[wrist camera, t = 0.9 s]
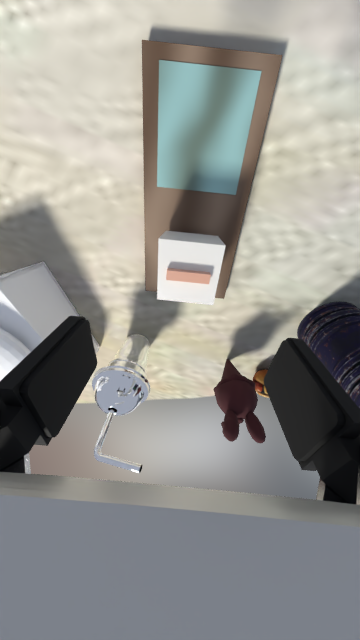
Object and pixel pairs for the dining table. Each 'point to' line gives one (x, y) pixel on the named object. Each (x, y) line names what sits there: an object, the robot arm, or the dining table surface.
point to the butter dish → (29, 312)
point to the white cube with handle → (189, 267)
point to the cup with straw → (122, 390)
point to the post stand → (201, 142)
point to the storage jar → (336, 342)
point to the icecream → (238, 404)
